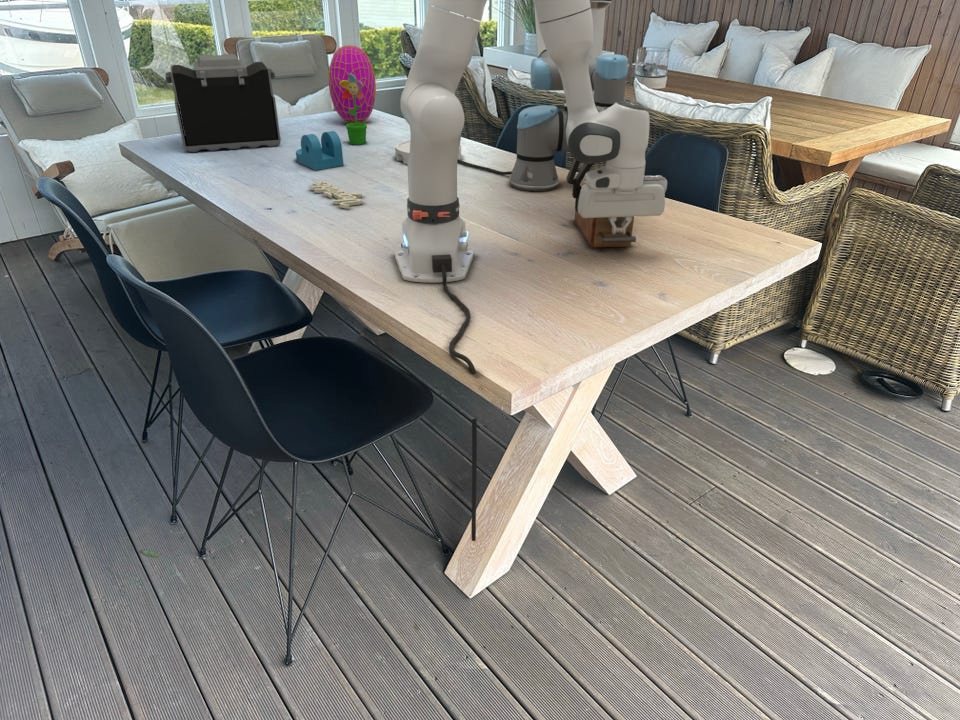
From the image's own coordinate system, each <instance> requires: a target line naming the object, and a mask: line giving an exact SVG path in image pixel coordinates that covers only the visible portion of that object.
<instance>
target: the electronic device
mask: <svg viewBox="0 0 960 720" xmlns="http://www.w3.org/2000/svg"><path fill="white" fill-rule="evenodd" d="M197 58H198V59H197V60H195V61H193V67H194V69H193V68H189V67H187V66H184V65H181V64H171V65H170V71H167V72H165V74H164V75H165V82H166V84H171V85H172V90H173V94H174V106H175V107H174V108H175V111H176V112H175V113H176V116H177V121H178V126H179V131H180V136H181V141H182V146H183V149H184V150H185V151H186V152H187V153H188V152H189V153H199V152H200V151H202V150H203V151H204V150H207V151H210V152H214V151H219V150H220V149H228V150H239V149H240V148H245V147H247V148H250V149H255V148H258V147H260V146H267V147H277V146H279V145H281V141H282V139H281V131H280V125H279V117H278V109H277V102H276V97H275V95H274V89H273V81H272V80H273V79H276V73H275V71H274V70H273V69H272V68H270V67H268V66H266V64H265V63H264V62H263V61H255V62H253V63H251V64H249V65H247V66H246V65H245V63H244V62H243V60H241V59H239V58H238V57H237V55H236V54H235V53H222V54H218V55H215V54H213V55H212V54H198V57H197Z"/></svg>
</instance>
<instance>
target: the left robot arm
mask: <svg viewBox="0 0 960 720" xmlns="http://www.w3.org/2000/svg"><path fill="white" fill-rule="evenodd" d="M532 1H533V6H534V5H535V7H536V13H537V18H538V22H539V28H540V32H541V35H542V39H543V42H544V44H545V47H546V49H547V52H548V54H549V56H550V58H551V59H552V60H553V62H554V63H555V65H556V66H557V68H558V70H559V73H560V75H561V79H562V84H563V89H564V90H563V93H564V99H565V103H566V104H567V118H566V122H565V128H564V135H565V139H566V141H567V144H568V149H569V154H570V155H571V156H572V158H573V160H574V159H575V160H577V161H579V162H580V164H590V163H594V164H598V163H604V162H605V165H603V166H601V167H598V168H595V169H593V170H589V171H588V172H587V173H586V174H585V177H584V181H585V183H584V184H583V185H581V187H582V188H581V191H580V195H579V201H578V213H579V214H580V216H581V217H582V218H603V217H608V219H609V221H610V223H611V225H612V234H613V235H615V234H625V232H626V227H627V226H628V225H629V223H630V222H631V220H632V217H633V216H634V217H658V216H659V217H660V216H661V215H663V213H664V212H665V208H666V207H665V206H666V197H665V196H666V194H665V193H666V192H667V189H668V180H667V179H666V177H664V176H663V175H660V174H656V175H645V172H646V163H647V161H646V152H647V148H648V145H649V139H650V123H651V122H650V121H651V120H650V113H649V111H648V109H647V108H646V107H645V106H644V105H642V104H640V103H638V102H634V101H630V100H624V101H617V102H616V103H615V104H614V105H612V106H611V107H609V108H607V109H606V110H604V111H602V112H600V111H599V110H598V109H597V107H596V105H595V102H594V98H593V93H592V87H591V81H590V76H589V67H588V63H589V55H590V51H591V49H592V46H593V17H592V10H591V5H590V0H532ZM487 2H488V0H429V1H428V5H427V9H426V14H425V19H424V23H423V27H422V32H421V36H420V39H419V44H418V47H417V50H416V53H415V56H414V59H413V61H412V63H411V67H410V70H409V71H408V75H407V79H406V81H405V85H404V88H403V90H402V92H401V95H400V101H399V102H400V104H399V105H400V112H401V116H402V117H403V119H404V120H405V121H406V123H407V124H408V125H409V131H410V139H409V140H410V153H409V161H408V164H407V184H408V186H407V187H408V198H407V199H406V211H407V213H406V214H407V217H406V218H405V219H404V220H403V221H402V223H401V231H402V242H401V244H400V247H401V249H400V250H397V251H395V252H394V259H395V262H396V264H397V267H398V269H399V272H400V274H401V277H402V279H403V280H405V281H408V282H414V283H431V284H433V283H435V284H437V283H442V288H443V291H444V293H445V295H447V296H448V297H449V298H450V299H452V300H453V301H454V302H455V303H456V304H457V305H458V306H459V307H460V308H461V309H462V310H463V311H464V313H465V319H464V321H463V323H462V324H461V327H460V328H459V330H458V331H457V333H456V334H455V335H454V337H453V338H452V339H451V341H450V342H449V345H448V349H449V353H450V354H451V355H452V356H453V357H455V358H457V359H460V360H462V361H463V362H464V363H466V365H467V366H468V368H469V371H470V374H471V375H473V376H475V375H476V374H477V371H476V368H475V365H474V364H473V362H472V360H471V359H470V358H469V357H468V356H466V355H464V354H463V353H460V352H458V351H456V349H455V344H456V343H457V342H458V340H459V339H460V338H461V337H462V335H463V334H464V332H465V329H466V328H467V326H468V325H469V323H470V321H471V312H470V308H468V306H467V305H466V304H464V302H463V301H461V300H460V299H459V298H458V297H457V296H456V295H455V294H453V293H452V292H450V290H449V288H448V283H451V282H457V281H461V280H464V279H466V277H467V274H468V273H469V269H470V267H471V265H472V262H473V260H474V257H475V251H473V250H471V249H468V245H469V243H468V242H467V239H468V236H469V231H466V221H465V220H464V219H463V218H461V216H460V208H461V207H460V206H461V205H460V198H459V197H458V162H457V161H458V154H459V148H460V145H461V141H462V131H463V130H464V127H465V112H464V108H463V106H462V105H463V104H462V103H461V101H460V99H459V98H458V97H457V96H456V92H457V89H458V86H459V84H460V83H461V80H462V77H463V75H464V73H465V71H466V69H467V68H468V67H469V65H470V63H471V62H472V57H473V54H474V50H475V46H476V42H477V40H478V39H477V38H478V35H479V31H480V28H481V24H482V20H483V15H484V10H485V6H486V4H487ZM617 217H623V218H624V219H625V220H624V222H623V223H622V225H615V223H614V221H616V218H617ZM477 428H478V422H477V418H472V419H471V527H470V528H471V533H470V534H471V535H470V537H471V540H470V541H472V542H475V541H477V476H478V475H477V473H478V472H477V469H478V467H477V466H478V462H477V461H478V433H477V432H478V429H477Z"/></svg>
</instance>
